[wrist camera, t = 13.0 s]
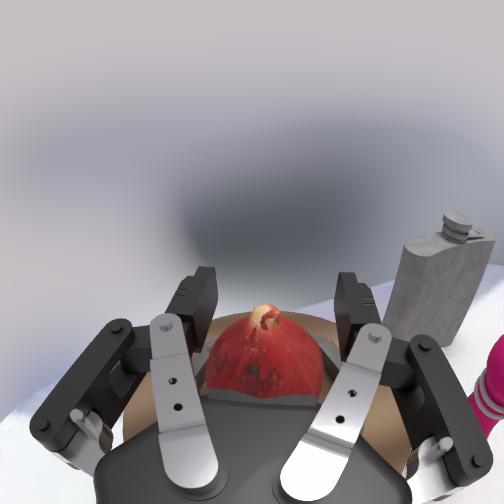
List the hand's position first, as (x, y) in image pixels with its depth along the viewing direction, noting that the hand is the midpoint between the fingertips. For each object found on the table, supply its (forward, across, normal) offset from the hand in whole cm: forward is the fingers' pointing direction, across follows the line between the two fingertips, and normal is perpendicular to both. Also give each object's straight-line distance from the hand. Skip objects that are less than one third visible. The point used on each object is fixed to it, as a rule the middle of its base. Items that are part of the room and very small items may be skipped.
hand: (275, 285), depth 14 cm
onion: (-3, 0, +8) cm, 8 cm away
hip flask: (+14, -19, +22) cm, 32 cm away
